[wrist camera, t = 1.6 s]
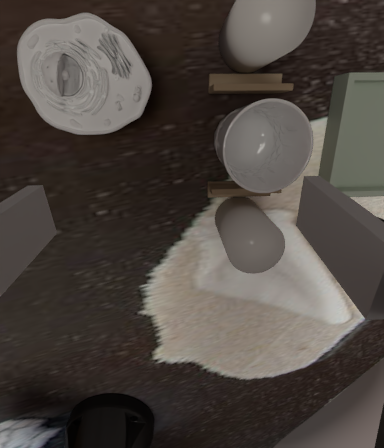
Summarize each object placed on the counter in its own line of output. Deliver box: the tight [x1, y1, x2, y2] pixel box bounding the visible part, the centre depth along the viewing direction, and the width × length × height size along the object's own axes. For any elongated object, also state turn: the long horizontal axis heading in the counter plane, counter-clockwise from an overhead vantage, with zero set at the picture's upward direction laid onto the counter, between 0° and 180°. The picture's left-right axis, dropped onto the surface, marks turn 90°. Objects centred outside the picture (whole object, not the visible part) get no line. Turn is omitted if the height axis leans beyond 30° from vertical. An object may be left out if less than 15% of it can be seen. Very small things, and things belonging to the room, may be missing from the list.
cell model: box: [17, 13, 152, 135], centre depth 26 cm, size 10×12×7 cm
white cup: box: [214, 98, 313, 193], centre depth 28 cm, size 8×8×10 cm
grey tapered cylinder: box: [215, 197, 285, 273], centre depth 32 cm, size 6×6×9 cm
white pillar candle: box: [219, 0, 316, 74], centre depth 25 cm, size 6×6×9 cm
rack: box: [208, 74, 293, 198], centre depth 31 cm, size 14×8×4 cm, turn 1°
